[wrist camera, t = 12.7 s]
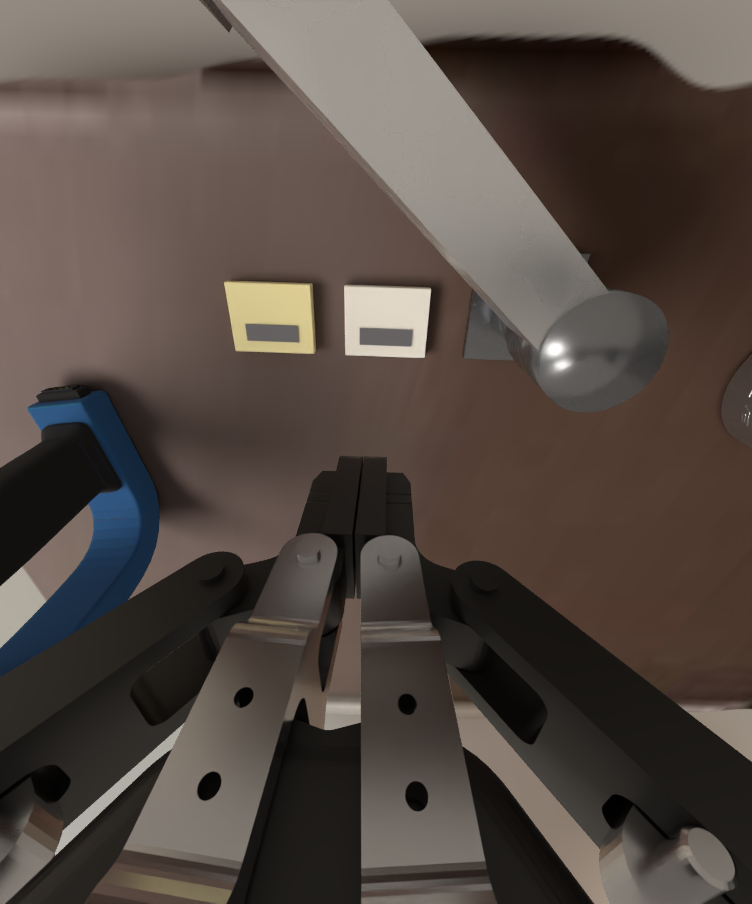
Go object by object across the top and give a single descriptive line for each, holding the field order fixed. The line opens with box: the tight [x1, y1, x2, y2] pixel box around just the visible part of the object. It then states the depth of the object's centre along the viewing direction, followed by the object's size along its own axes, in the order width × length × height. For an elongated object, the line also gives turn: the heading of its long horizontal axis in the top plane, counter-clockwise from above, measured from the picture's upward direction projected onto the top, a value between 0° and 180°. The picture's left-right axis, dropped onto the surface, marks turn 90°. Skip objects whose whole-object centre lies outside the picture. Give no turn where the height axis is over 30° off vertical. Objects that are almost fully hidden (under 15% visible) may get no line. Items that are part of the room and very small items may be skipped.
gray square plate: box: [462, 253, 590, 360], centre depth 20 cm, size 6×6×5 cm
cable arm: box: [200, 0, 669, 412], centre depth 13 cm, size 21×4×5 cm, turn 48°
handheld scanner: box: [0, 385, 160, 677], centre depth 20 cm, size 5×16×20 cm, turn 7°
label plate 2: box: [344, 284, 431, 358], centre depth 22 cm, size 5×4×1 cm
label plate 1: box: [224, 281, 316, 354], centre depth 23 cm, size 5×4×1 cm
